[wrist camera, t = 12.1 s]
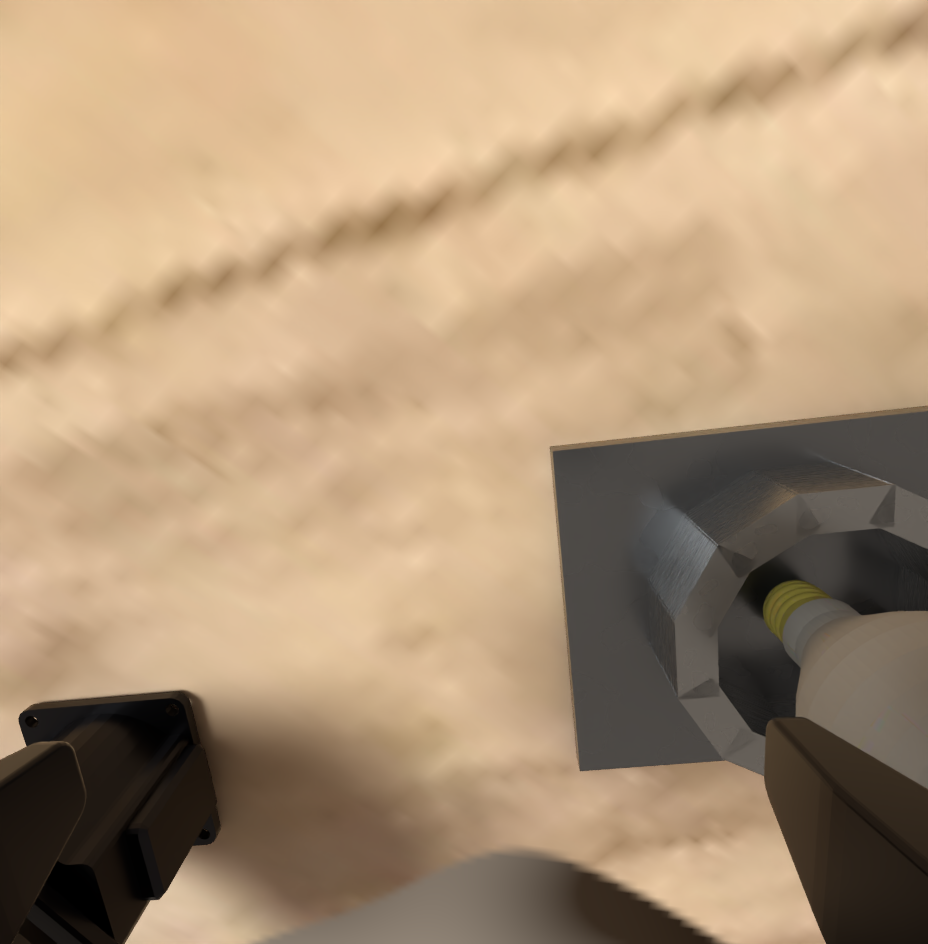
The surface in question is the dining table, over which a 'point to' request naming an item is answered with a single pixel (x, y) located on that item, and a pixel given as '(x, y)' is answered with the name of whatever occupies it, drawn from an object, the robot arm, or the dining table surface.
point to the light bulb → (858, 672)
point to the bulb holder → (724, 571)
